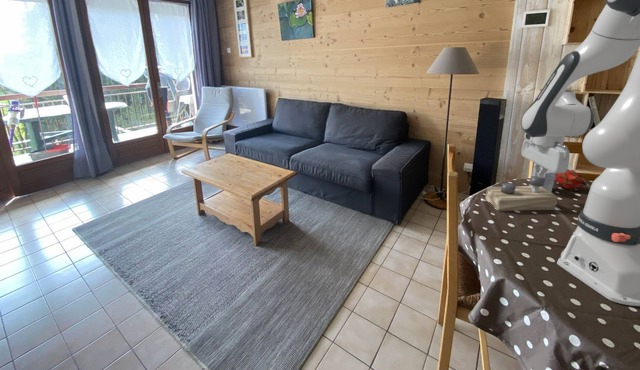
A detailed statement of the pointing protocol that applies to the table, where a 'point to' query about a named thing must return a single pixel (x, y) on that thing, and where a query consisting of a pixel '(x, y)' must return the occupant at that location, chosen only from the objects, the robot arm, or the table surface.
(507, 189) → the knob left
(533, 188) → the knob right
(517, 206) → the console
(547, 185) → the medicine box
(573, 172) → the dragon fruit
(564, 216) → the table surface
